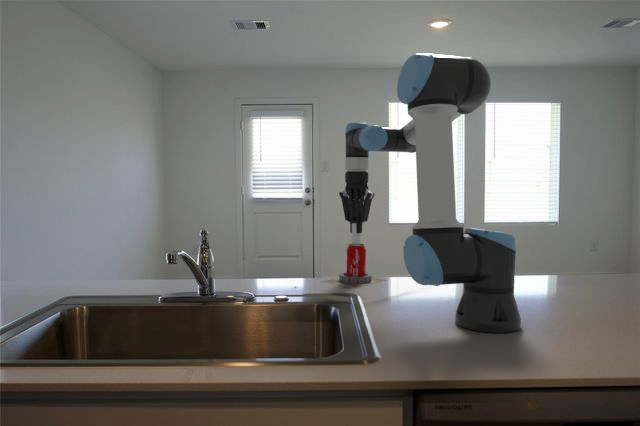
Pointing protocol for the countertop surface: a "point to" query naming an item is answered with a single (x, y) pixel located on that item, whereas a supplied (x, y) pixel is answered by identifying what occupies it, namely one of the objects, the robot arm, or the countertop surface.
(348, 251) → the soda can
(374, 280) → the walnut base board
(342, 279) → the gray segmented ring
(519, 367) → the countertop surface
